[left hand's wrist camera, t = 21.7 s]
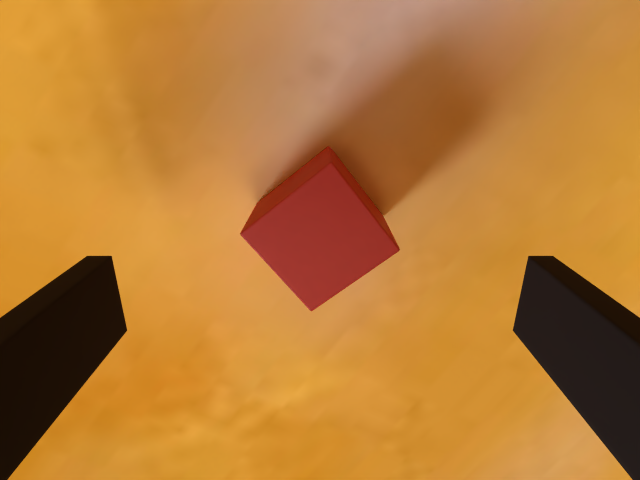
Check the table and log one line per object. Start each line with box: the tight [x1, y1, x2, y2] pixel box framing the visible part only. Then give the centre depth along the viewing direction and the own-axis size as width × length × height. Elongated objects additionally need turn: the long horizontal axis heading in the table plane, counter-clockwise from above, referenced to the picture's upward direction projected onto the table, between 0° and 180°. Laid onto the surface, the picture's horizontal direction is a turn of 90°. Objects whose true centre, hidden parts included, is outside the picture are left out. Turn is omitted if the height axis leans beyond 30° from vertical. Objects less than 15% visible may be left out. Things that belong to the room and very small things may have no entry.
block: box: [240, 146, 400, 311], centre depth 19 cm, size 5×5×5 cm
